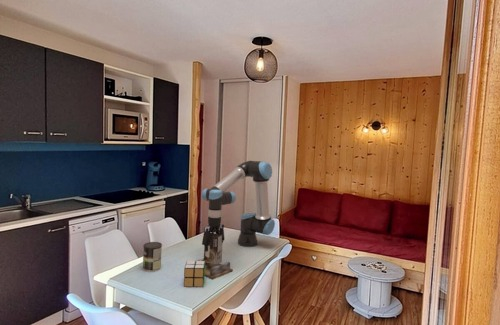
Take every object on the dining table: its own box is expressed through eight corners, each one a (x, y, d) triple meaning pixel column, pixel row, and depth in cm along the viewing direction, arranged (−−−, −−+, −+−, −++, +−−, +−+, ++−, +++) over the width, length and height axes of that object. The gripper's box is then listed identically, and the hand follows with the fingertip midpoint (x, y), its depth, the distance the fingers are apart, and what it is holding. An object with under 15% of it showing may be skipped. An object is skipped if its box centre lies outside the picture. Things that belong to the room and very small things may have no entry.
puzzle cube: (186, 278, 161) (186, 260, 161) (204, 278, 162) (205, 260, 161) (183, 287, 151) (184, 268, 151) (203, 287, 152) (204, 268, 151)
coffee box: (221, 261, 174) (223, 234, 173) (217, 265, 168) (218, 237, 167) (208, 258, 177) (209, 232, 176) (203, 262, 171) (204, 235, 170)
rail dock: (212, 262, 185) (212, 254, 184) (232, 271, 173) (233, 262, 172) (191, 269, 173) (192, 260, 172) (212, 279, 161) (212, 270, 160)
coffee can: (143, 272, 165) (143, 248, 164) (142, 265, 174) (142, 242, 174) (162, 270, 169) (163, 246, 168) (160, 263, 179) (160, 241, 178)
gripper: (223, 212, 181) (221, 249, 182) (196, 217, 166) (194, 257, 167) (231, 215, 176) (230, 252, 177) (204, 220, 161) (203, 261, 162)
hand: (213, 254), depth 172 cm, fingers closed on coffee box, 8 cm apart
